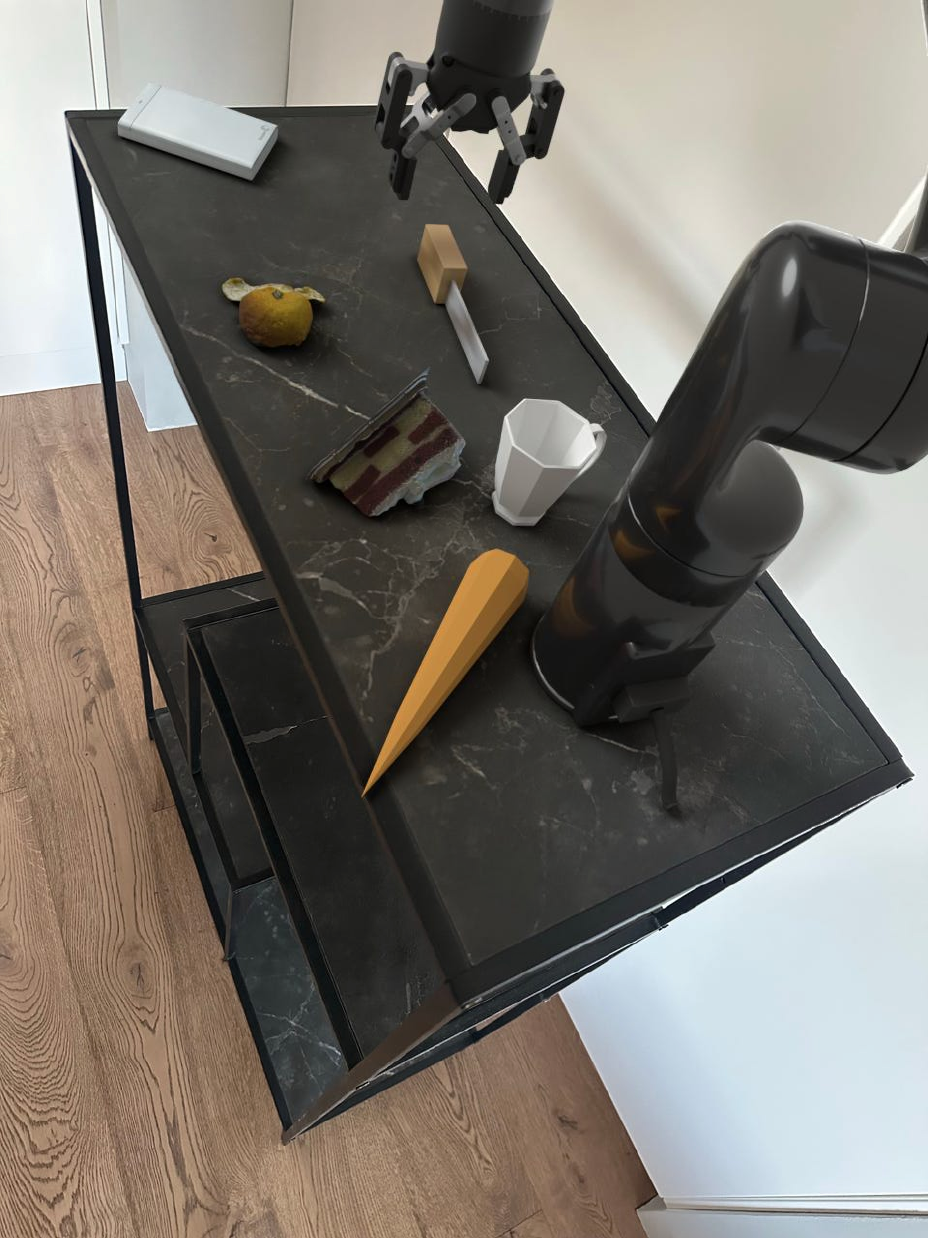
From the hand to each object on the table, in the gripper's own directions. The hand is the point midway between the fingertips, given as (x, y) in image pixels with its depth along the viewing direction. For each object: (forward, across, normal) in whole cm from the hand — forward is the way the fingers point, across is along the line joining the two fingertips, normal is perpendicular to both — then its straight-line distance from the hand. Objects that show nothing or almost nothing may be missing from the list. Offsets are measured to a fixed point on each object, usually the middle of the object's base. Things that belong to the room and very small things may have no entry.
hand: (447, 196), depth 75 cm
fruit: (+8, +14, +5) cm, 17 cm away
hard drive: (+7, +11, -17) cm, 21 cm away
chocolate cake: (+9, +10, +23) cm, 26 cm away
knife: (+8, -1, +5) cm, 10 cm away
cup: (+9, -1, +26) cm, 27 cm away
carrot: (+5, +13, +39) cm, 42 cm away
